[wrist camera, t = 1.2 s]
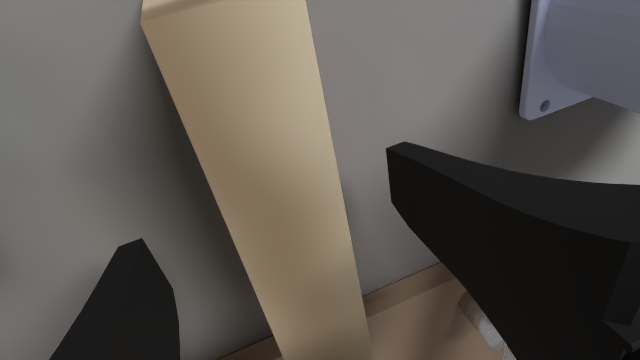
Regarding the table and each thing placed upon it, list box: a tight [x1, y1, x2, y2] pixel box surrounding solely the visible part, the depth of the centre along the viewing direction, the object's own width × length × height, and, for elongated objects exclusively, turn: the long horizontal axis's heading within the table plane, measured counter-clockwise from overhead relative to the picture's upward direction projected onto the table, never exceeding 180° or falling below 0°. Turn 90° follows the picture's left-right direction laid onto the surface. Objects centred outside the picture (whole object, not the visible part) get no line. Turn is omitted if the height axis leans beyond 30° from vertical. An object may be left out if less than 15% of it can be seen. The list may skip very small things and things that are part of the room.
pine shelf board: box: [140, 0, 374, 360], centre depth 12 cm, size 3×12×5 cm, turn 11°
